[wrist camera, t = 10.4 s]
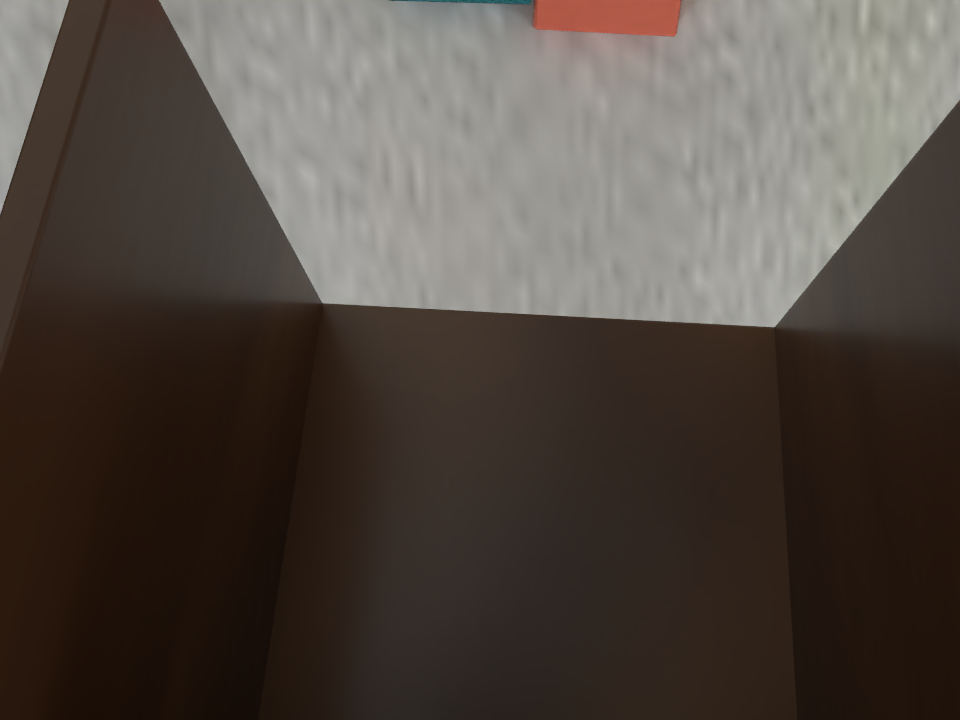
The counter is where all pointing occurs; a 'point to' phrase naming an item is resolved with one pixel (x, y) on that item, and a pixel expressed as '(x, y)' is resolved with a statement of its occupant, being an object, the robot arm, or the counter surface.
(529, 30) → the counter surface
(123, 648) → the brown wooden open box
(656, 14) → the packet coral
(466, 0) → the packet teal
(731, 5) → the counter surface
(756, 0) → the counter surface
